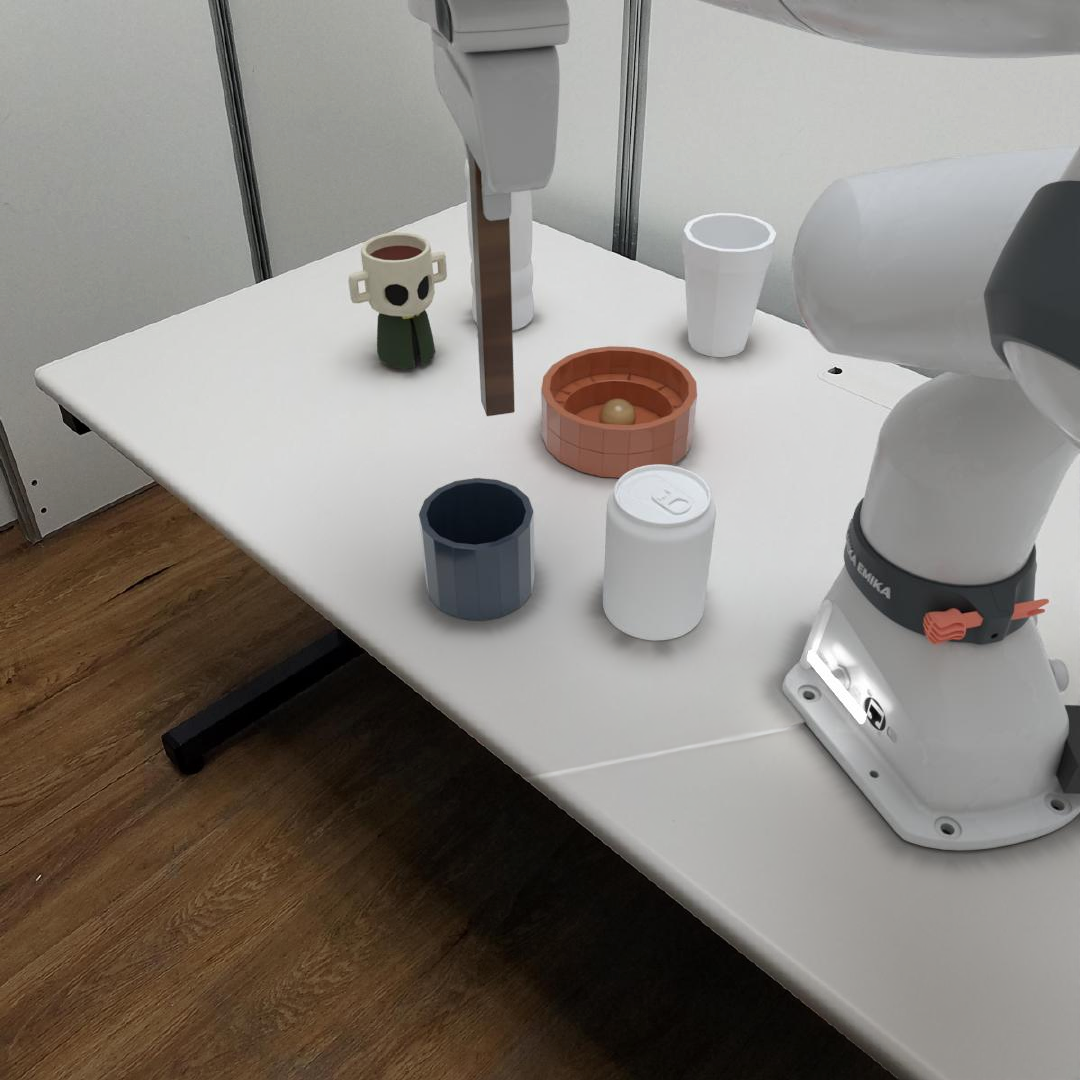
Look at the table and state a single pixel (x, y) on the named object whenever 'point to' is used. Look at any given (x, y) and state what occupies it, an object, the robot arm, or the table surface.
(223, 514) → the table surface
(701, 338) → the foam cup
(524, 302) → the water bottle
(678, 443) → the bowl
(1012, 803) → the robot arm
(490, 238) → the stick
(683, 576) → the beverage can
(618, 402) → the bead
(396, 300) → the character mug
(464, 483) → the pot
